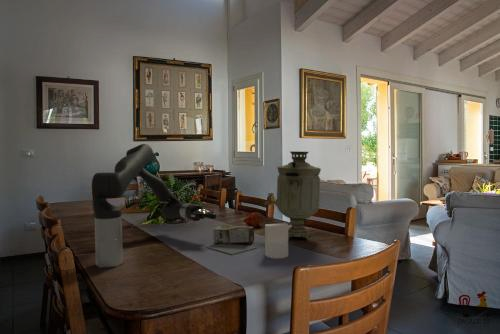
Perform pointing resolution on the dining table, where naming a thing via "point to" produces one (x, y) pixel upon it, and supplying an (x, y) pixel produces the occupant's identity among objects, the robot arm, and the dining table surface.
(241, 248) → the mat
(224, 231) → the coffee box
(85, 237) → the dining table surface
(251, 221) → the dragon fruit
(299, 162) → the samovar
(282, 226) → the base with upright slab
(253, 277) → the dining table surface
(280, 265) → the dining table surface
